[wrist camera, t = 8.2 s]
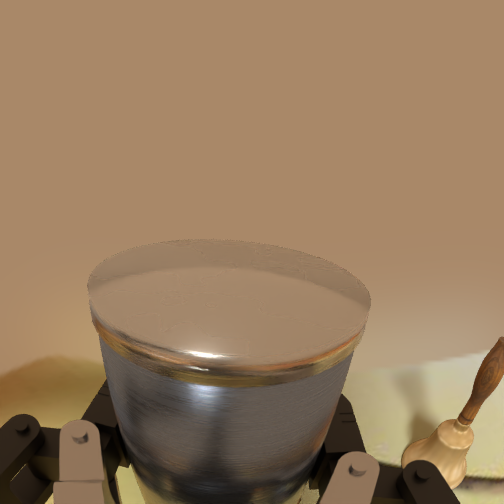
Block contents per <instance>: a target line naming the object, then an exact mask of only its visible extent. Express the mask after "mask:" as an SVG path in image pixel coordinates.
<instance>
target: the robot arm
mask: <svg viewBox="0 0 504 504" xmlns="http://www.w3.org/2000/svg"><path fill="white" fill-rule="evenodd" d="M353 413H354V412H353V409H352V406H351V403H350V402H349V401H348V400H347V398H346V397H345V396H344V395H343V394H341V395H340V398H339V401H338V404H337V407H336V410H335V413H334V415H333V418H332V421H331V424H330V426H329V429H328V432H327V435H326V437H325V440H324V442H323V445H322V447H321V450H320V453H319V455H318V457H317V460H316V462H315V465H314V467H313V469H312V472H311V474H310V476H309V479H308V480H309V489H319V495H320V497H319V499H318V501H317V503H316V504H460V502H459V501H458V499H457V497H456V496H455V494H454V493H453V491H452V490H451V488H450V486H449V485H448V483H447V482H446V480H445V479H444V477H443V476H442V474H441V472H440V471H439V469H438V468H437V467H436V466H435V465H434V464H433V463H431V462H429V461H426V460H414V461H412V462H410V463H408V464H407V465H406V466H405V468H395V467H387V466H383V465H380V464H378V462H377V460H376V459H375V458H374V457H372V456H371V455H369V454H367V453H366V450H365V447H364V444H363V440H362V437H361V434H360V431H359V428H358V425H357V423H356V418H355V415H354V414H353ZM25 464H26V465H25ZM24 465H25V466H24ZM129 465H130V461H129V458H128V455H127V451H126V448H125V445H124V442H123V439H122V435H121V432H120V429H119V425H118V421H117V418H116V414H115V410H114V406H113V403H112V398H111V394H110V390H109V386H108V381H107V379H106V381H105V382H104V384H103V385H102V387H101V388H100V390H99V392H98V394H97V395H96V396H95V398H94V399H93V401H92V402H91V404H90V406H89V407H88V409H87V410H86V412H85V413H84V415H83V417H82V418H81V420H74V421H71V422H69V423H67V424H65V425H64V426H63V428H62V429H56V428H46V427H40V424H39V422H38V421H37V419H36V418H34V417H33V416H31V415H27V414H19V415H16V416H14V417H12V418H11V419H10V420H9V421H7V422H6V423H5V424H4V425H3V426H2V427H1V428H0V504H45V502H46V501H47V500H48V499H49V497H50V496H51V495H52V493H53V496H54V504H122V501H121V496H120V491H119V486H118V481H117V476H116V471H117V469H118V466H122V467H126V468H129ZM23 466H24V467H23ZM22 467H23V468H22ZM21 468H22V469H21ZM19 471H20V472H19ZM18 472H19V473H18ZM17 473H18V474H17ZM16 474H17V475H16ZM15 475H16V476H15ZM14 476H15V477H14ZM11 480H12V481H11Z"/></svg>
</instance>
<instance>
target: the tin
mask: <svg viewBox="0 0 504 504" xmlns="http://www.w3.org/2000/svg"><path fill="white" fill-rule="evenodd" d="M88 295H89V303H90V310H91V316H92V322H93V324H94V326H95V328H96V331H97V332H98V333H99V340H100V346H101V351H102V357H103V362H104V367H105V372H106V377H107V381H108V386H109V390H110V394H111V398H112V403H113V406H114V410H115V414H116V418H117V421H118V425H119V429H120V432H121V435H122V439H123V442H124V445H125V448H126V451H127V455H128V458H129V461H130V463H131V466H132V469H133V472H134V475H135V478H136V480H137V483H138V486H139V488H140V491H141V493H142V496H143V498H144V501H145V503H146V504H297V503H298V501H299V499H300V496H301V494H302V492H303V490H304V488H305V485H306V483H307V481H308V479H309V476H310V474H311V472H312V469H313V467H314V465H315V462H316V460H317V457H318V455H319V453H320V450H321V447H322V445H323V442H324V440H325V437H326V435H327V432H328V429H329V426H330V424H331V421H332V418H333V415H334V413H335V410H336V407H337V404H338V401H339V398H340V395H341V392H342V389H343V386H344V382H345V379H346V376H347V373H348V370H349V366H350V363H351V359H352V356H353V352H354V350H355V348H356V347H357V346H358V344H359V342H360V341H361V339H362V336H363V333H364V329H365V326H366V322H367V318H368V314H369V310H370V306H371V299H370V295H369V292H368V290H367V289H366V287H365V285H364V284H363V283H362V282H361V281H360V280H359V279H358V278H357V277H355V276H354V275H353V274H352V273H350V272H348V271H347V270H345V269H344V268H342V267H339V266H338V265H336V264H334V263H331V262H329V261H327V260H325V259H321V258H319V257H316V256H313V255H310V254H307V253H304V252H300V251H296V250H292V249H288V248H283V247H278V246H273V245H267V244H260V243H253V242H244V241H233V240H205V239H200V240H178V241H168V242H160V243H153V244H148V245H144V246H139V247H136V248H132V249H128V250H126V251H123V252H120V253H118V254H115V255H113V256H111V257H110V258H108V259H106V260H104V261H103V262H102V263H100V264H99V265H98V266H97V267H96V268H95V269H94V270H93V271H92V273H91V275H90V277H89V280H88Z"/></svg>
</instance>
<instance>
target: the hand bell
mask: <svg viewBox="0 0 504 504" xmlns="http://www.w3.org/2000/svg"><path fill="white" fill-rule="evenodd" d="M503 375H504V337H500V338H499V340H498V342H497V343H496V344H495V346H494V347H493V348H492V349H491V350H490V352H489V353H488V354H487V356H486V357H485V358H484V360H483V362H482V364H481V366H480V368H479V370H478V373H477V375H476V378H475V381H474V385H473V390H472V394H471V396H470V398H469V400H468V402H467V404H466V405H465V407H464V408H463V410H462V412H461V413H460V414H459V416H458V418H457V419H450V420H446V421H444V422H442V423H441V424H440V425H439V426H438V428H437V429H436V430H435V432H434V433H433V434H432V435H431V436H430V437H429V438H424V439H421V440H418V441H416V442H414V443H413V444H411V445H410V446H409V447H408V448H407V449H406V450H405V452H404V454H403V457H402V468H405V466H406V465H407V464H408V463H410V462H412V461H414V460H426V461H429V462H431V463H433V464H434V465H435V466H436V467H437V468H438V469H439V471H440V472H441V474H442V476H443V477H444V479H445V480H446V482H447V483H448V485H449V486H450V488H451V490H452V489H454V488H455V487H457V486H458V485H459V484H460V483H461V482H462V480H463V479H464V477H465V474H466V467H467V465H466V459H465V457H466V454H467V452H468V450H469V448H470V446H471V444H472V442H473V439H474V434H473V431H472V429H471V428H470V424H471V423H472V422H473V420H474V418H475V416H476V414H477V412H478V411H479V409H480V407H481V405H482V404H483V402H484V401H485V400H486V398H487V397H488V396H489V395H490V394H491V393H492V392H493V391H494V390H495V388H496V387H497V385H498V384H499V382H500V380H501V379H502V377H503Z"/></svg>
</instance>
